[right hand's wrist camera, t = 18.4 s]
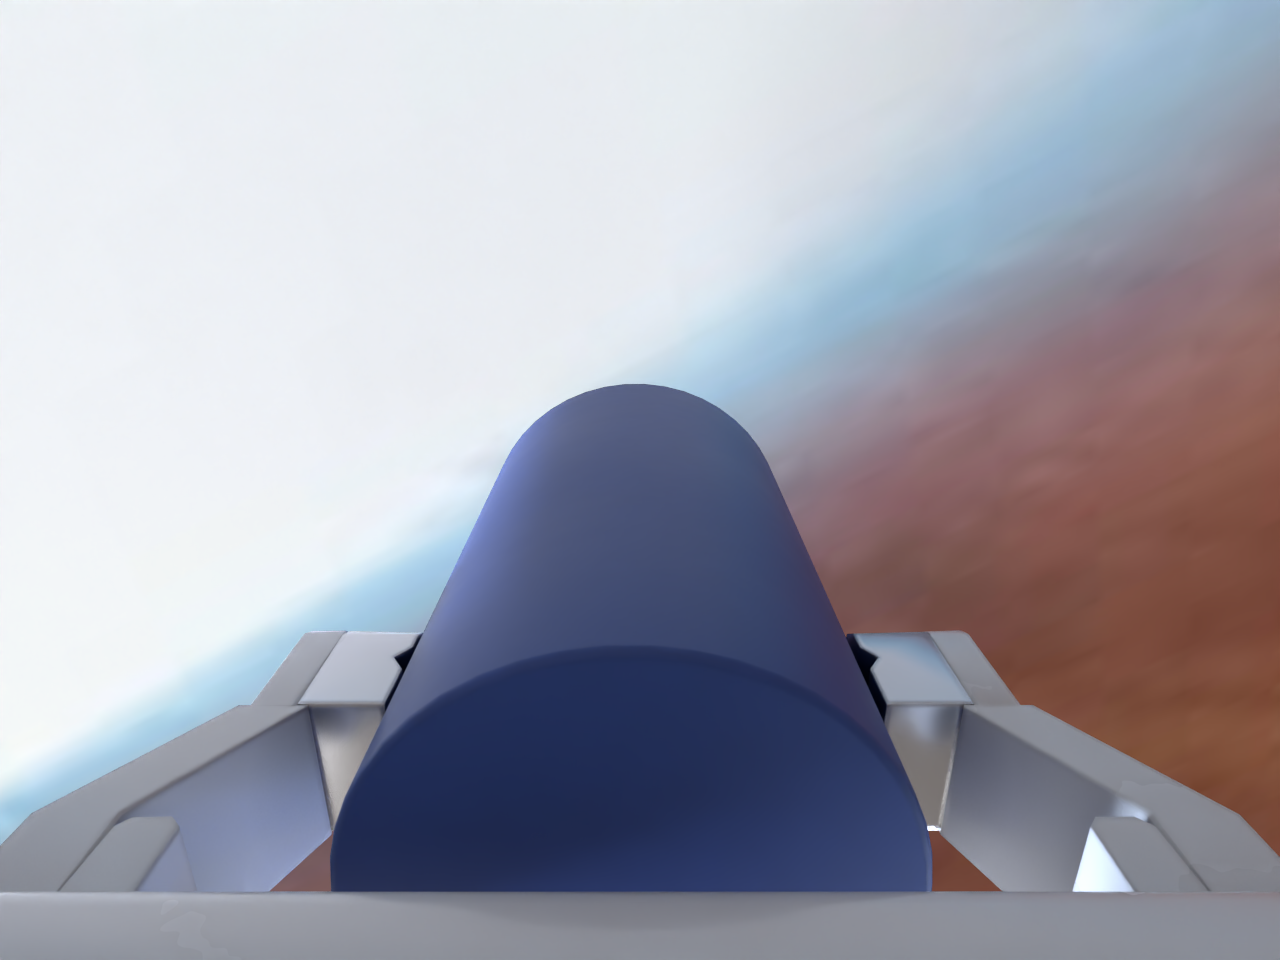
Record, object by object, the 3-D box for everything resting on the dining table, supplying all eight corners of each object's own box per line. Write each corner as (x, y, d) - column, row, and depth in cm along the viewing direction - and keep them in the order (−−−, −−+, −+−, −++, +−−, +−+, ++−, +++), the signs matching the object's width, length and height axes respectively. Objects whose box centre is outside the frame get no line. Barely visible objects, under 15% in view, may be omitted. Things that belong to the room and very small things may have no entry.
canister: (822, 577, 15) (1013, 999, 8) (578, 681, 16) (521, 1156, 8) (705, 330, 14) (795, 542, 6) (439, 462, 15) (198, 802, 7)
